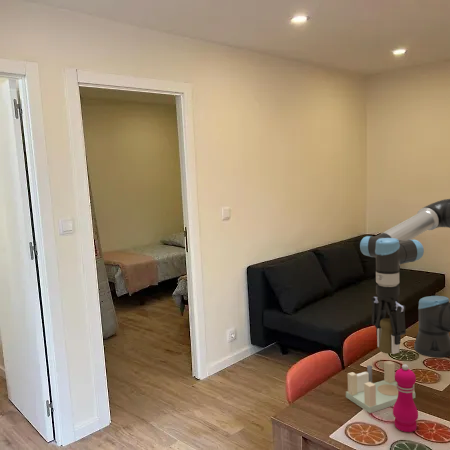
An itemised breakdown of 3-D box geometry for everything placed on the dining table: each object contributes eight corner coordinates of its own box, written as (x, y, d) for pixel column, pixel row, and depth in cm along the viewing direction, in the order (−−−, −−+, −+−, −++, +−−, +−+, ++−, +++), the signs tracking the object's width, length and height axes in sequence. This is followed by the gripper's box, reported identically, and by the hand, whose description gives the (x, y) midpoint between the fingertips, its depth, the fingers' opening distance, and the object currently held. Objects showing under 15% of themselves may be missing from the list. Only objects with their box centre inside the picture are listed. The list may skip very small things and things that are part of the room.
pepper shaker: (395, 346, 157) (395, 316, 156) (398, 353, 151) (398, 322, 150) (377, 346, 158) (377, 316, 157) (380, 353, 153) (379, 322, 151)
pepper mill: (388, 421, 141) (388, 360, 139) (411, 418, 142) (410, 358, 140) (399, 434, 134) (399, 370, 132) (422, 432, 135) (422, 368, 132)
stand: (389, 383, 165) (389, 357, 164) (415, 397, 154) (415, 370, 153) (345, 397, 157) (345, 370, 156) (369, 413, 146) (369, 384, 145)
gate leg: (365, 387, 159) (364, 368, 158) (369, 389, 157) (369, 370, 156) (348, 392, 156) (347, 373, 155) (352, 395, 154) (351, 375, 153)
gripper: (359, 279, 159) (360, 342, 162) (400, 292, 142) (400, 361, 145) (376, 276, 162) (377, 338, 165) (418, 288, 145) (418, 356, 148)
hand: (388, 349), depth 155 cm, fingers closed on pepper shaker, 6 cm apart
